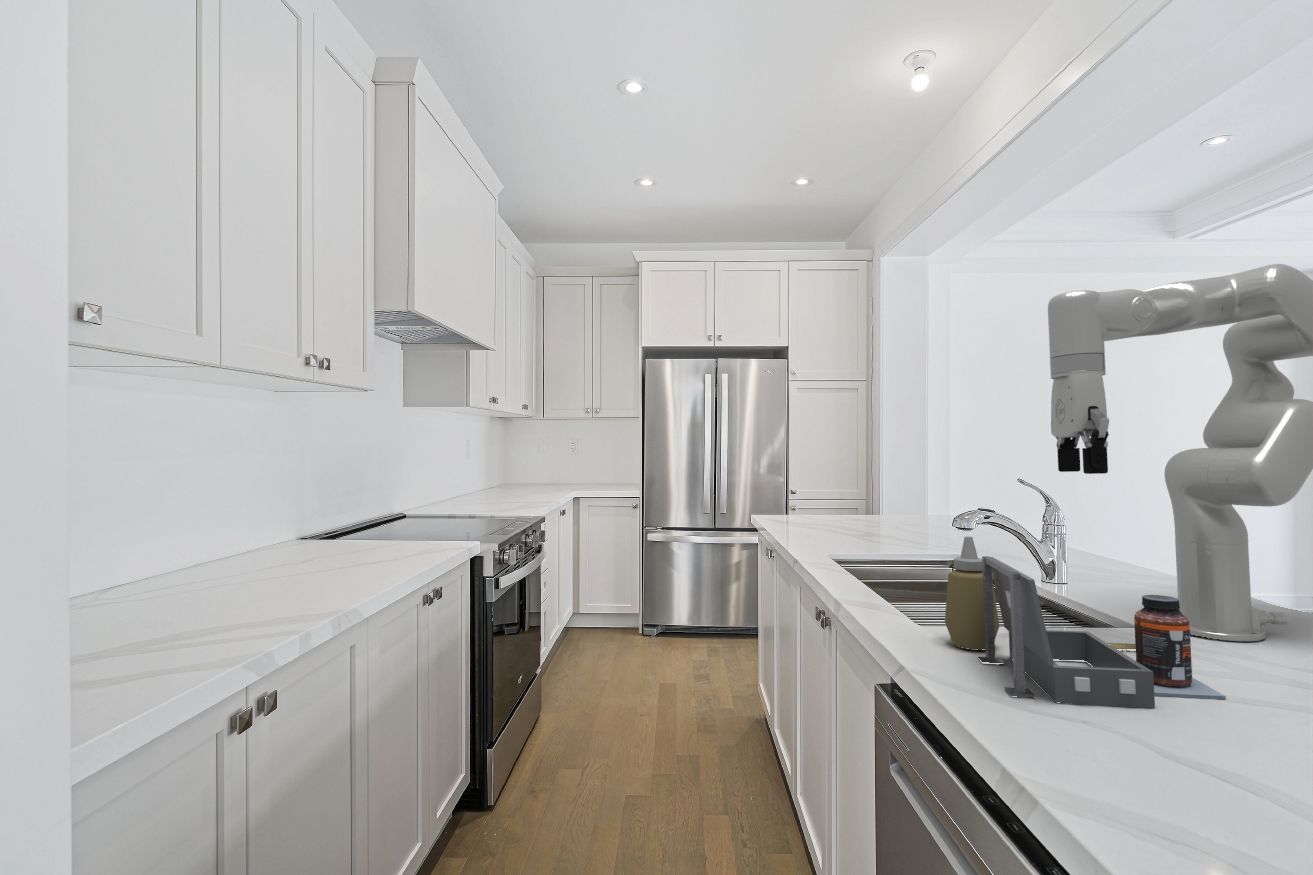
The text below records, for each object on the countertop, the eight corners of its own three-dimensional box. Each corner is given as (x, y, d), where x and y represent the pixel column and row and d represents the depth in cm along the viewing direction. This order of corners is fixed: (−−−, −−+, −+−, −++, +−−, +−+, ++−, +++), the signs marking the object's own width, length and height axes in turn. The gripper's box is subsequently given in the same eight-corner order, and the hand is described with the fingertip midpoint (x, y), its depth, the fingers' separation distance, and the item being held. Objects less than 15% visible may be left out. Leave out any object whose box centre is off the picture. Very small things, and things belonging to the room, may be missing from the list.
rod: (1142, 642, 100) (1145, 651, 99) (1138, 645, 101) (1141, 654, 100) (1057, 639, 102) (1060, 648, 101) (1055, 642, 103) (1057, 650, 103)
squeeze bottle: (988, 657, 99) (984, 541, 99) (937, 646, 105) (933, 537, 105) (1008, 646, 104) (1003, 536, 104) (958, 636, 110) (954, 532, 110)
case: (1089, 661, 96) (1088, 631, 96) (1156, 709, 78) (1155, 672, 78) (1009, 657, 98) (1008, 628, 98) (1057, 704, 80) (1055, 668, 80)
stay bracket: (999, 659, 97) (994, 555, 98) (1035, 698, 82) (1030, 574, 83) (977, 659, 98) (973, 555, 98) (1010, 696, 83) (1005, 574, 83)
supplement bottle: (1197, 691, 82) (1192, 604, 82) (1139, 684, 85) (1135, 599, 85) (1188, 677, 87) (1184, 594, 87) (1134, 670, 90) (1130, 590, 90)
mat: (1183, 674, 89) (1183, 672, 89) (1225, 699, 80) (1225, 696, 80) (1111, 671, 91) (1111, 668, 91) (1144, 695, 82) (1144, 692, 82)
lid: (992, 556, 99) (986, 557, 99) (1034, 579, 81) (1026, 580, 81) (1008, 626, 98) (1002, 627, 98) (1054, 664, 81) (1046, 665, 81)
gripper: (1032, 375, 113) (1036, 471, 112) (1074, 362, 96) (1079, 474, 95) (1080, 373, 111) (1084, 470, 111) (1130, 359, 94) (1135, 473, 94)
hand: (1081, 472), depth 103 cm, fingers open, 9 cm apart
